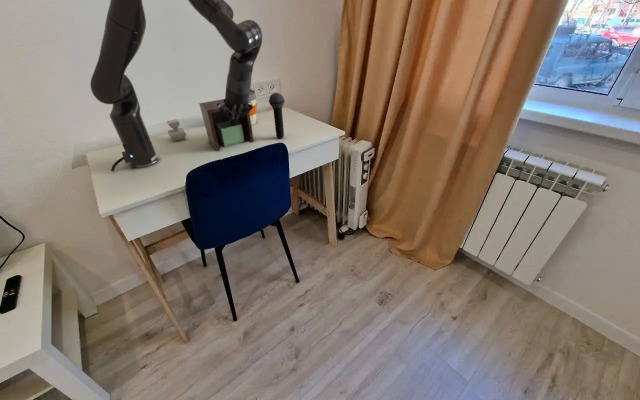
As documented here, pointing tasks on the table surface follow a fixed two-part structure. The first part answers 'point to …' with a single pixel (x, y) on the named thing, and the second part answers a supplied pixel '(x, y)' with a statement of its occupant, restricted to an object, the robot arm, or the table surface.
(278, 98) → the microphone
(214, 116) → the cubby
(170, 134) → the stamp
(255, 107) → the reusable coffee cup
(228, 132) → the basket
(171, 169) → the table surface
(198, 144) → the table surface
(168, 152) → the table surface
